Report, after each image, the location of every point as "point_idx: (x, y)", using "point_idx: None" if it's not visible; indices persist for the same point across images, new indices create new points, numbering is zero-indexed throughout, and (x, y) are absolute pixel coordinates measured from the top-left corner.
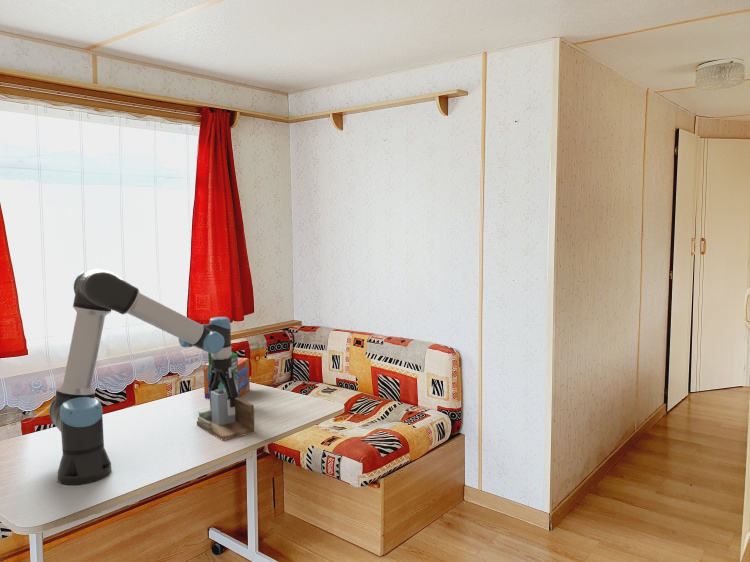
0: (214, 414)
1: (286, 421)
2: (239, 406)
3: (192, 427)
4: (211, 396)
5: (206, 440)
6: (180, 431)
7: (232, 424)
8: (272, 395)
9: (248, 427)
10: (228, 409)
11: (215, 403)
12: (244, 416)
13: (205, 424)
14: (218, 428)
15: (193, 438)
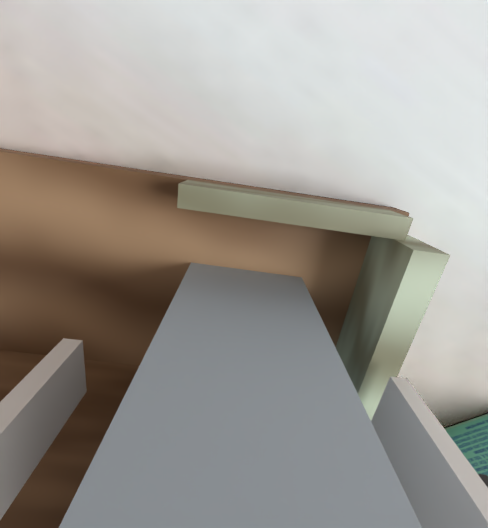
0: (258, 304)
1: None
2: (71, 485)
3: (386, 159)
4: (381, 488)
5: (55, 59)
6: (401, 31)
7: (147, 329)
8: None
9: (22, 354)
10: (20, 386)
11: (220, 388)
12: None
13: (252, 191)
14: (142, 229)
15: (169, 6)
